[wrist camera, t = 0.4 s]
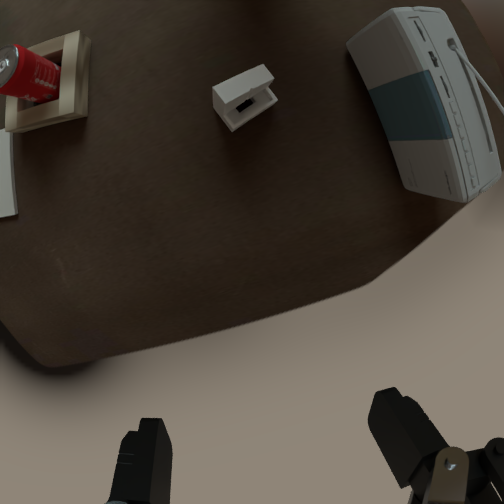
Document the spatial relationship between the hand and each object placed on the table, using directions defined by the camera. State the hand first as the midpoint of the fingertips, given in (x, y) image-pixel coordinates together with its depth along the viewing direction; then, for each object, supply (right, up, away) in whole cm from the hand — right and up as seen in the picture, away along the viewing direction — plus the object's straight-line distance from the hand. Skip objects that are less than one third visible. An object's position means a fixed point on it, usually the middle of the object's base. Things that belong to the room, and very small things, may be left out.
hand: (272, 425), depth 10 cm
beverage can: (-26, +27, +18) cm, 42 cm away
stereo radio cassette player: (+18, +25, +24) cm, 39 cm away
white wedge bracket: (-2, +23, +23) cm, 32 cm away
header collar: (-26, +27, +18) cm, 42 cm away
